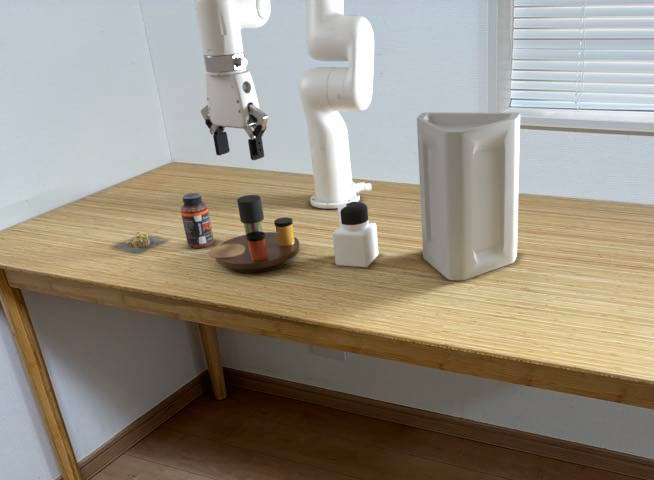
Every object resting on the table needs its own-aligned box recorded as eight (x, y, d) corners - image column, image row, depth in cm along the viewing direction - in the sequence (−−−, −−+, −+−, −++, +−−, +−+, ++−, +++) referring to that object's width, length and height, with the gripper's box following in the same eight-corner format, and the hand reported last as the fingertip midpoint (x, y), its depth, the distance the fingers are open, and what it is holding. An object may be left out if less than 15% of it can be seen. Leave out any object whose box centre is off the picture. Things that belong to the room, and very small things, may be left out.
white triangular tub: (408, 277, 152) (400, 131, 137) (428, 249, 164) (422, 112, 149) (504, 283, 147) (506, 132, 132) (517, 254, 159) (520, 112, 144)
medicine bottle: (379, 255, 163) (374, 199, 157) (367, 268, 158) (362, 211, 151) (348, 252, 165) (342, 197, 159) (335, 265, 160) (328, 209, 153)
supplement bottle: (211, 248, 173) (201, 199, 167) (185, 250, 173) (174, 200, 167) (217, 239, 178) (207, 190, 172) (191, 240, 178) (181, 192, 172)
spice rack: (294, 232, 173) (287, 180, 167) (305, 261, 158) (297, 205, 152) (208, 244, 170) (197, 192, 164) (210, 275, 155) (199, 219, 149)
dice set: (140, 238, 181) (138, 230, 180) (155, 242, 179) (153, 234, 178) (123, 245, 178) (121, 237, 177) (137, 249, 175) (135, 241, 174)
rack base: (286, 245, 171) (285, 239, 171) (292, 267, 161) (291, 260, 160) (227, 254, 169) (226, 247, 169) (230, 276, 159) (228, 269, 158)
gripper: (272, 62, 143) (284, 156, 152) (208, 59, 152) (223, 147, 161) (244, 69, 138) (258, 165, 147) (179, 65, 147) (196, 156, 156)
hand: (240, 156), depth 154 cm, fingers open, 9 cm apart
